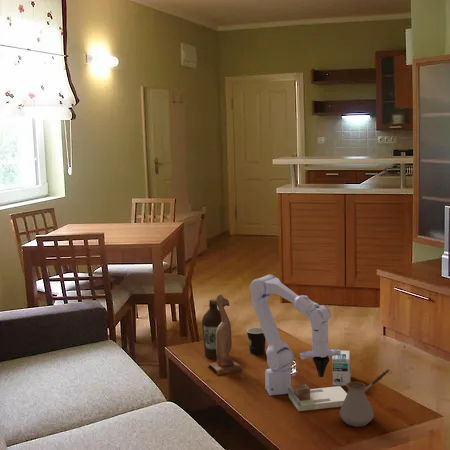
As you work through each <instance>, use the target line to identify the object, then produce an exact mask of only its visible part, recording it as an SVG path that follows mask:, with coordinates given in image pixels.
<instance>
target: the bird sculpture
mask: <svg viewBox="0 0 450 450" xmlns="http://www.w3.org/2000/svg"><path fill="white" fill-rule="evenodd" d="M215 300H216V303H217V309H218V310H219V311H220V314H221V318H222V322H221V323H220V325H219V326H218V328H217V331H216V353H217V354H216V355H217V359H216V361H215V362H209V363H208V364H207V368H213V369H214V370H215V372H216V374H217V376H221V375H222V376H223V375H228V374H232V373H233V374H234V373H238V372H241V371H242V365H241V364H239V363H238V362H237V361H235V360H234V359H233V358H231V356H230V354H229V353H230V352H231V350H232V348H233V347H232V345H233V343H232V342H233V341H232V339H233V338H232V326H231V325H232V324H231V322H230V318H229V317H228V314H227V312H226V309H225V307H230V301H229V300H228V298H225V297H224V296H223V295H222V294H221V293H220V294H218V295H217V296H216V298H215Z"/></svg>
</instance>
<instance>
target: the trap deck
mask: <svg viewBox="0 0 450 450" xmlns="http://www.w3.org/2000/svg"><path fill="white" fill-rule="evenodd" d="M342 387H343V386H338V385H335V386H330V387H328V386H327V387H319V388H311V389H310V400H302V401H300V400H299V399H298V398H297V396H296V395H295V393H294V390H293V391H292V389H293V388H292V387H291V388H292V389H291V388H288V393H289V394H288V398H289V400H290V401H291V403H292V404H293V405H294V408H296V410H297V411H298V412H303V411H313V410H320V409H328V408H329V409H330V408H341V407H342V404H343V402H344V400H345V398H346V395H347V393H348V392H346V391H345V390H344V388H342Z"/></svg>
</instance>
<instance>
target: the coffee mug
mask: <svg viewBox="0 0 450 450" xmlns="http://www.w3.org/2000/svg"><path fill="white" fill-rule="evenodd" d="M246 333H247V339H248V340H247V341H248V348H249V352H250V354H252V355H256V356H258V355H264V354H266V343H267V341H266V338H265V336H264V333H263V330H262V328H261V327H251V328H248V329H247V330H246Z"/></svg>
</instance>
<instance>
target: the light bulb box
mask: <svg viewBox="0 0 450 450" xmlns="http://www.w3.org/2000/svg"><path fill="white" fill-rule="evenodd" d="M339 350H340V349H339ZM340 351H341V356H337V355H336V356H331V357H332V358H331V359H332V386H341V387H347V386H346V385H347V384H348V383H350V382H351V380H352V379H351V373H352V372H351V350H340Z"/></svg>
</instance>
